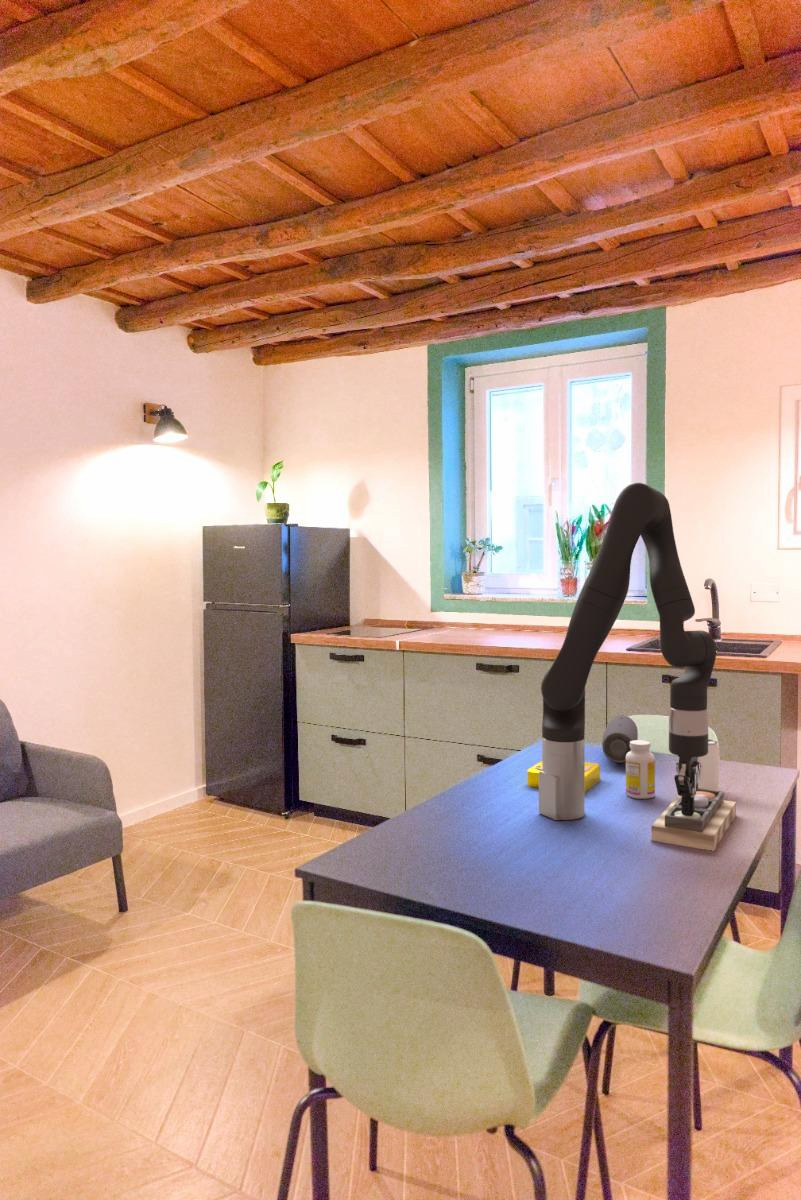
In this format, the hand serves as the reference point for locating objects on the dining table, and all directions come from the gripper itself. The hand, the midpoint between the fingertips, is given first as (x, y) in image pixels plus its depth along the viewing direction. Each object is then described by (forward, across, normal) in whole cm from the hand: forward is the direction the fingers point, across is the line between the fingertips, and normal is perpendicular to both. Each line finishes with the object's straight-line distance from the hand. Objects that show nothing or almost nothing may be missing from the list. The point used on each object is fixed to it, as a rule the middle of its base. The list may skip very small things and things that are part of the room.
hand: (688, 814), depth 166 cm
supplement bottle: (+5, +24, +16) cm, 29 cm away
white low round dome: (+1, +7, 0) cm, 7 cm away
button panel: (+5, +7, 0) cm, 9 cm away
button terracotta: (+2, +15, 0) cm, 15 cm away
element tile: (+6, +25, +36) cm, 44 cm away
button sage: (+2, 0, 0) cm, 2 cm away
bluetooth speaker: (+5, +56, +31) cm, 64 cm away
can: (+5, +35, +4) cm, 36 cm away
